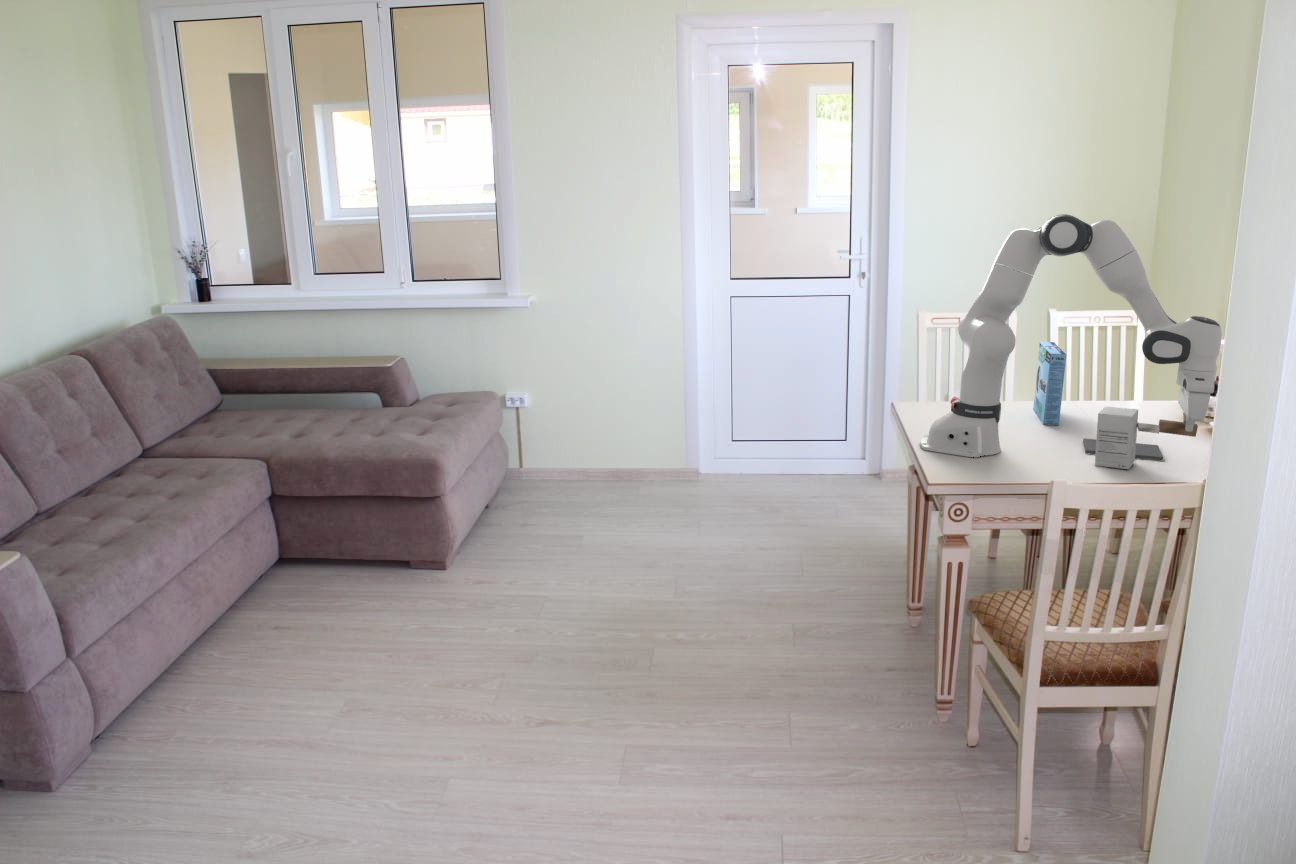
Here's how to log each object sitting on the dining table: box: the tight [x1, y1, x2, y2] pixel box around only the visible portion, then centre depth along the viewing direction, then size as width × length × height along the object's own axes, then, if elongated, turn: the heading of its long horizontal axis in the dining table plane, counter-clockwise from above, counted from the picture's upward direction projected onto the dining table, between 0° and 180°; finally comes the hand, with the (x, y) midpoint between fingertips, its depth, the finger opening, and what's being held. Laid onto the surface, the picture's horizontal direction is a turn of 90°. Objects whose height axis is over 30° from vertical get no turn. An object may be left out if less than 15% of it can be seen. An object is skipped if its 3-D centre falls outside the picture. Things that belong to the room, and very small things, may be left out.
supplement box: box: [1094, 406, 1139, 470], centre depth 272 cm, size 9×9×15 cm
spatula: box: [1137, 419, 1198, 438], centre depth 267 cm, size 14×5×3 cm, turn 69°
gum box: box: [1032, 341, 1067, 426], centre depth 317 cm, size 20×5×23 cm, turn 168°
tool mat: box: [1082, 438, 1164, 461], centre depth 286 cm, size 20×12×1 cm, turn 70°
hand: (1187, 428), depth 265 cm, fingers closed on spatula, 2 cm apart
